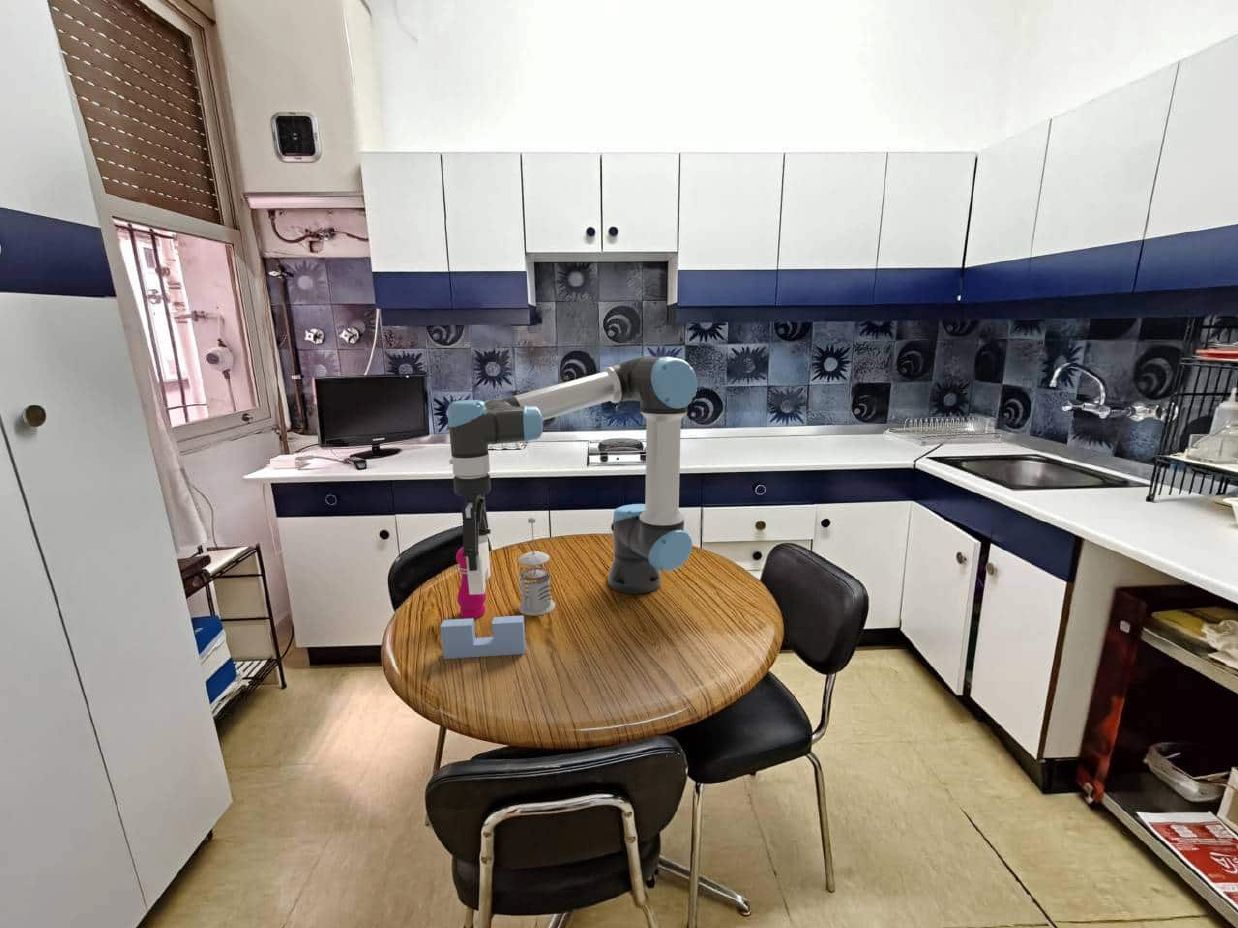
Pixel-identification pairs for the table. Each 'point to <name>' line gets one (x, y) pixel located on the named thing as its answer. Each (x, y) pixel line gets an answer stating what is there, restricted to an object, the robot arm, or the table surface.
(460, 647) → the blue batten
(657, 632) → the table surface
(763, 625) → the table surface
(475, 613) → the pepper mill
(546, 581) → the french press
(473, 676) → the table surface
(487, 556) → the white notched block
